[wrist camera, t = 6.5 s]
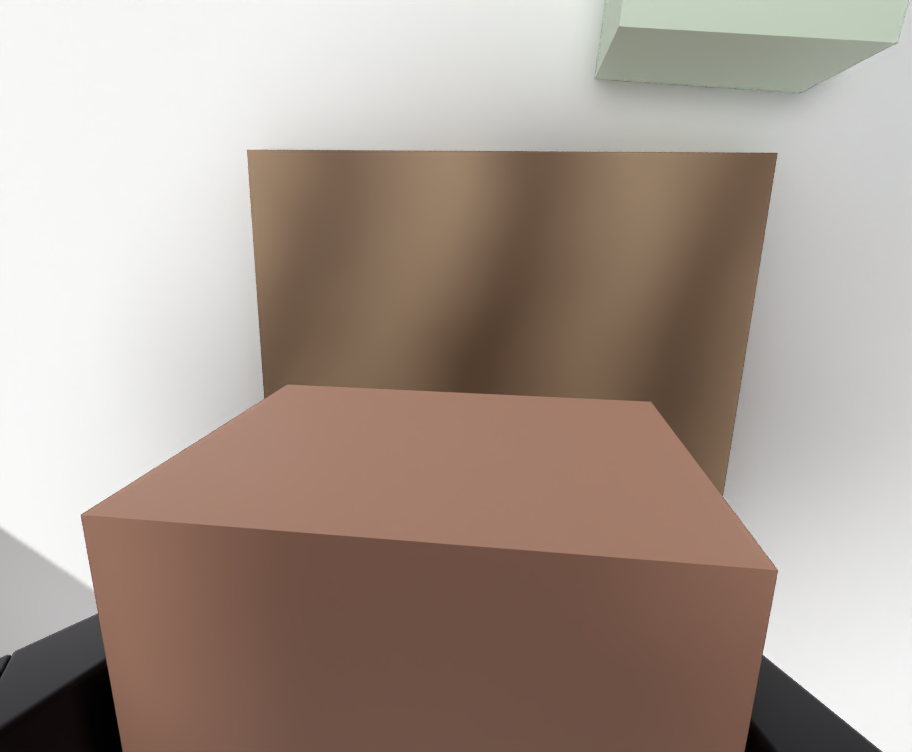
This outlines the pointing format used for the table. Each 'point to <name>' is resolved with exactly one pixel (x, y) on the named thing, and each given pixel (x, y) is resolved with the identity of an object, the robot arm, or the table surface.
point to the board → (515, 276)
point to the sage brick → (743, 41)
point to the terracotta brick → (430, 582)
